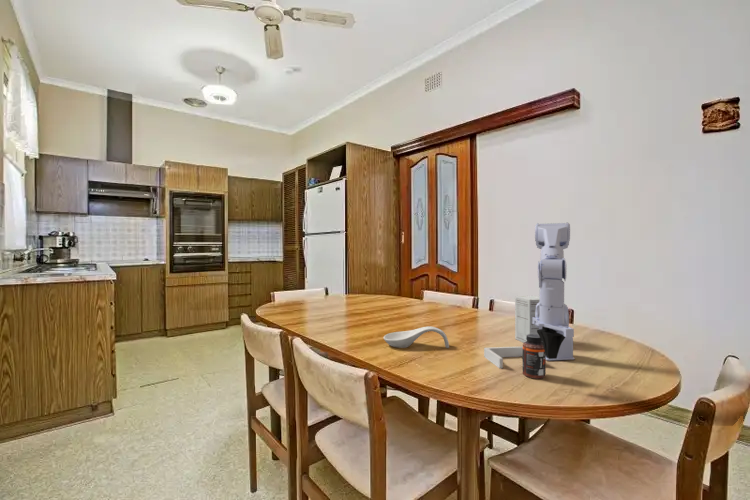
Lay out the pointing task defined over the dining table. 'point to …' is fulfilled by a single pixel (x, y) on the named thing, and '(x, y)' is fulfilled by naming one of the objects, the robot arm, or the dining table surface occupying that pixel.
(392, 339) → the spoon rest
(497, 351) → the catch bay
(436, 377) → the dining table surface
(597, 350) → the dining table surface
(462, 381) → the dining table surface
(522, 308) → the supplement box
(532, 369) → the supplement bottle
